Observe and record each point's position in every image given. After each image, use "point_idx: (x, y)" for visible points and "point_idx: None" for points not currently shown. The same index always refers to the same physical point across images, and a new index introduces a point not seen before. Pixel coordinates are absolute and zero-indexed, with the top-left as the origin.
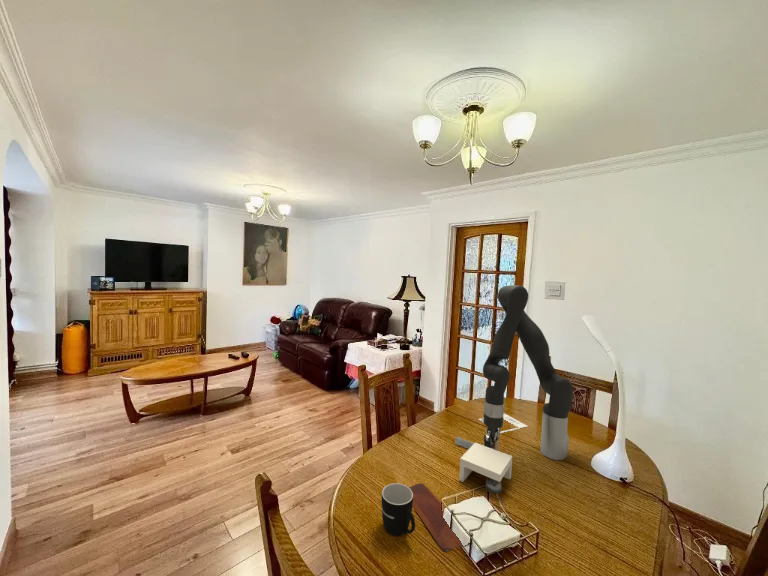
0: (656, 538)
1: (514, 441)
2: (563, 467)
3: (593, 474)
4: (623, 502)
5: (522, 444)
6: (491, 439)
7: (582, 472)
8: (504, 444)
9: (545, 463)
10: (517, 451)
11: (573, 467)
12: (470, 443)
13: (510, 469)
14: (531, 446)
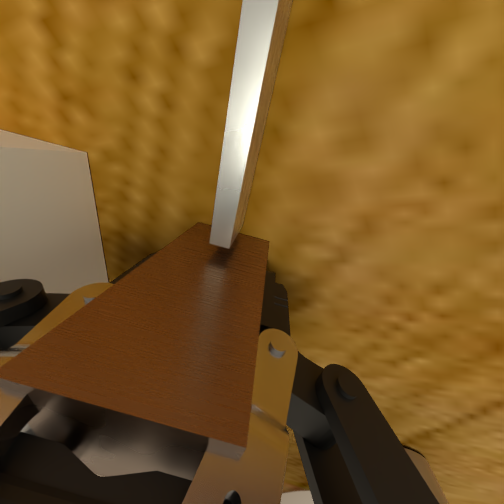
0: None
1: (494, 384)
2: (291, 457)
3: (287, 485)
4: None
5: (453, 407)
6: (67, 441)
7: (285, 475)
8: (441, 336)
9: (293, 432)
10: (361, 379)
11: (304, 471)
12: (244, 11)
13: None
14: (434, 429)
